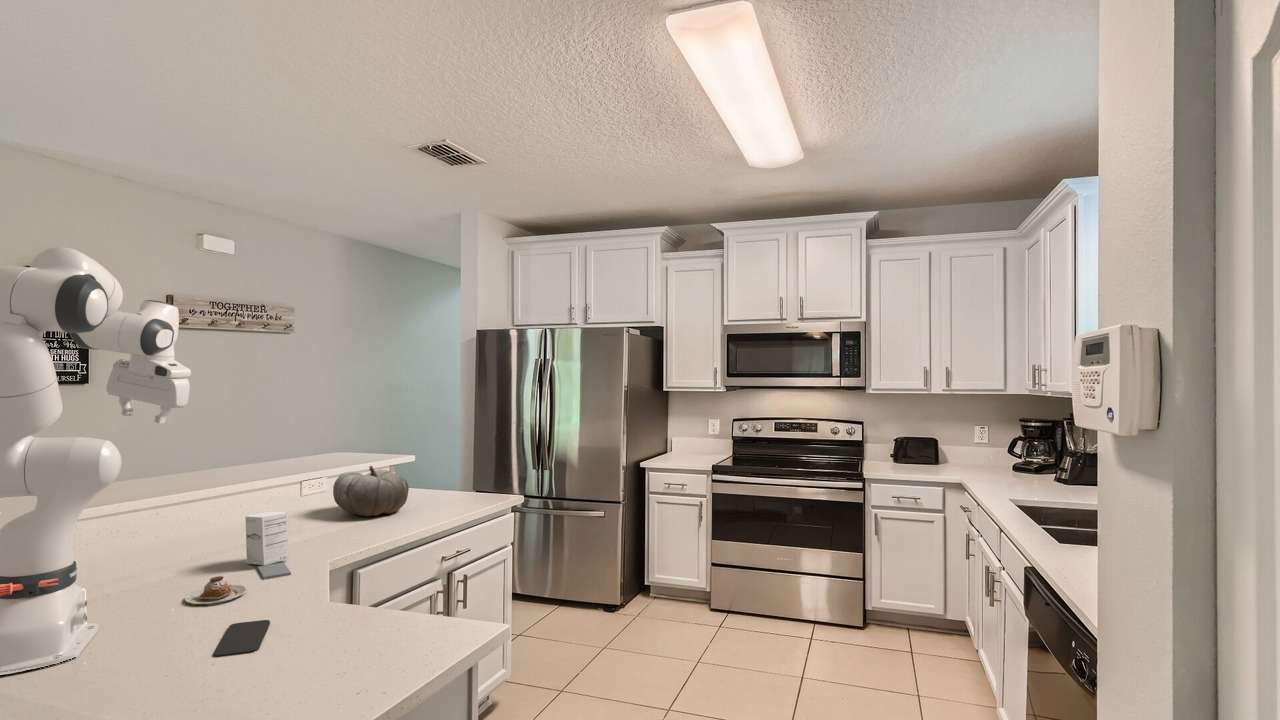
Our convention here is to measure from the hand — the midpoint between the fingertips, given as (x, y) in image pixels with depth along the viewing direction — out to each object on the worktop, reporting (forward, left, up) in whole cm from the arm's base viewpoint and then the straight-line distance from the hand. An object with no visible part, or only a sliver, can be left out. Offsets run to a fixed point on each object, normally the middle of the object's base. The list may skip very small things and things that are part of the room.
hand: (143, 419), depth 166 cm
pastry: (-30, -13, -39) cm, 51 cm away
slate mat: (-18, -27, -39) cm, 50 cm away
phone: (-59, -15, -39) cm, 72 cm away
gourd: (+34, -65, -39) cm, 84 cm away
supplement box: (-9, -27, -39) cm, 48 cm away
